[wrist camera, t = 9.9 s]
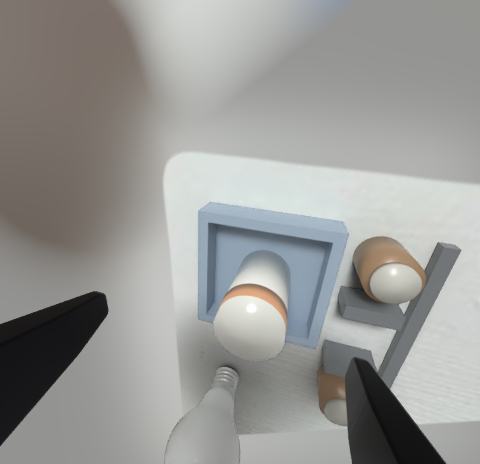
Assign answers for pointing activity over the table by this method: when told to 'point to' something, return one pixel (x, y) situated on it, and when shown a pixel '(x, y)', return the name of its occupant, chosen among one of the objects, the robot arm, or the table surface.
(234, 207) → the tray
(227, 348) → the cylinder
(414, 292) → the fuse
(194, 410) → the lightbulb
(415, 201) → the table surface
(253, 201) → the table surface
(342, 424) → the cylinder
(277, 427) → the table surface
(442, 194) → the table surface
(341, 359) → the grey bar and blocks
